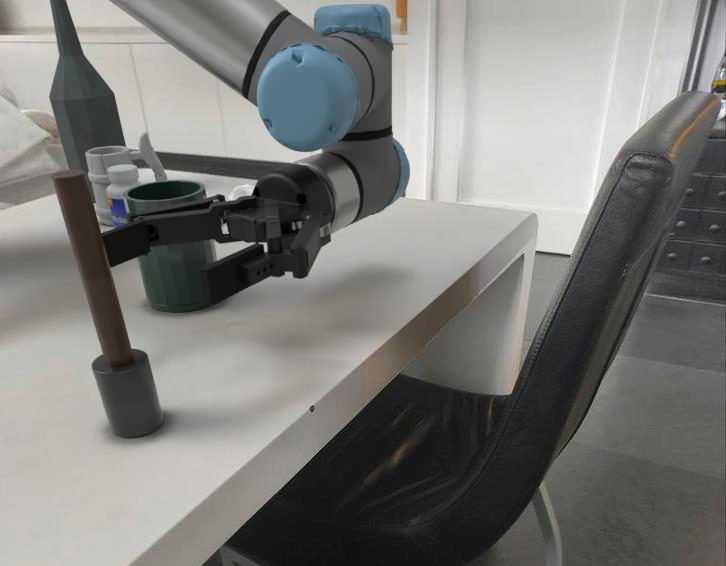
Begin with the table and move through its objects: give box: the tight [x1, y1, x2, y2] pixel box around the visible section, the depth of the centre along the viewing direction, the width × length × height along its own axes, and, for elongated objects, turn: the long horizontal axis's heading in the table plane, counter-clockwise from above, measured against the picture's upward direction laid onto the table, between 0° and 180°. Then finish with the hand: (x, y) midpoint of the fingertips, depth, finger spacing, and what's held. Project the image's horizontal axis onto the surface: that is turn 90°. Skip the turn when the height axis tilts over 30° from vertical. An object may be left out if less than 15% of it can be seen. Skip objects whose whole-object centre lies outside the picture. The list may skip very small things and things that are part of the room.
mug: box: [85, 131, 169, 226], centre depth 103 cm, size 8×12×12 cm, turn 95°
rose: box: [226, 184, 255, 201], centre depth 104 cm, size 10×4×10 cm
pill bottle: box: [106, 164, 144, 228], centre depth 95 cm, size 5×5×10 cm
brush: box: [50, 169, 164, 439], centre depth 52 cm, size 4×4×20 cm
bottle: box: [48, 0, 127, 204], centre depth 110 cm, size 10×10×30 cm
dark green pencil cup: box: [123, 179, 218, 313], centre depth 77 cm, size 9×9×12 cm
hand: (141, 272), depth 54 cm, fingers open, 13 cm apart
